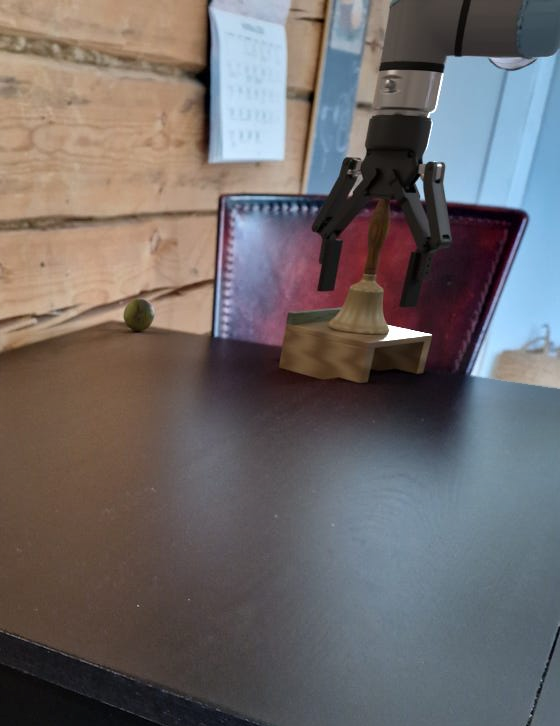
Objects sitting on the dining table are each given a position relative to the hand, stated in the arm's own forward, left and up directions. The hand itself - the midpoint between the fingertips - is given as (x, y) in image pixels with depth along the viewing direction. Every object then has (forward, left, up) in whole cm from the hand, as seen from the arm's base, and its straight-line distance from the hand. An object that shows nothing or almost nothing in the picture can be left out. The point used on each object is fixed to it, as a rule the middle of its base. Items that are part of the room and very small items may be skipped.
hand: (364, 298), depth 116 cm
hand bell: (0, 0, -4) cm, 4 cm away
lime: (+36, +9, -10) cm, 38 cm away
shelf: (0, 0, -10) cm, 10 cm away
